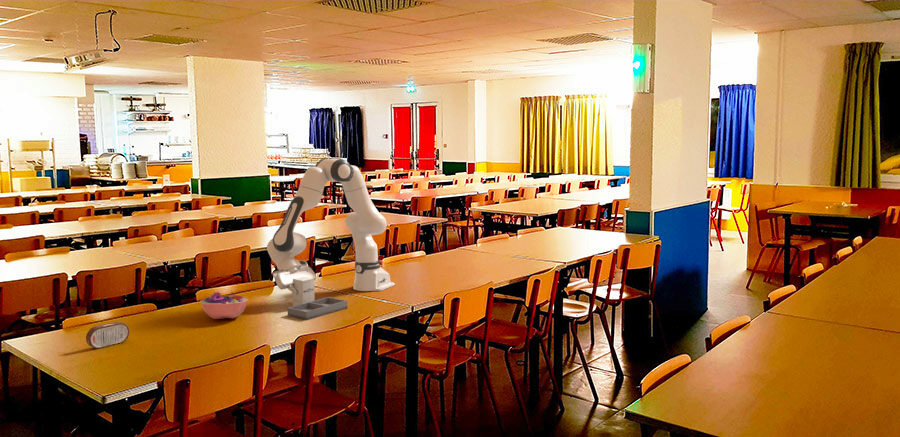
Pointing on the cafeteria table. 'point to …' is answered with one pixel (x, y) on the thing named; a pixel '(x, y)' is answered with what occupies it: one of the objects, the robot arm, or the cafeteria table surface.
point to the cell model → (224, 305)
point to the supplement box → (303, 290)
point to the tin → (107, 334)
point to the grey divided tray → (317, 308)
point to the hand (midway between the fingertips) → (304, 291)
